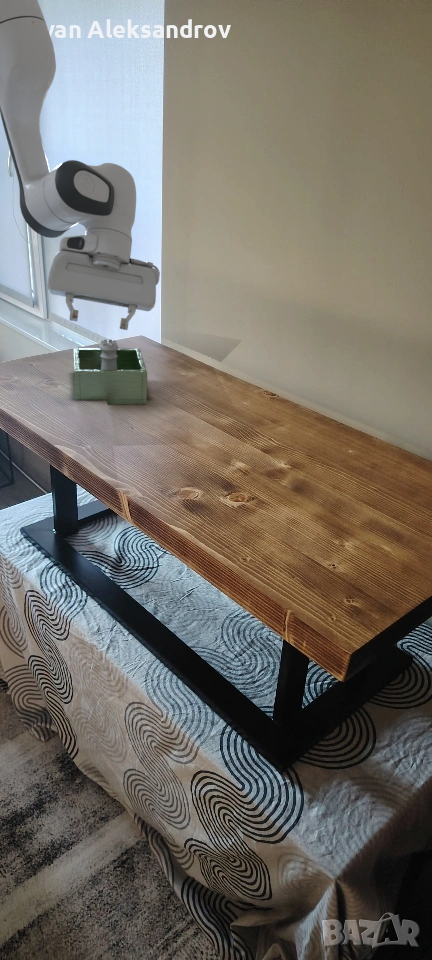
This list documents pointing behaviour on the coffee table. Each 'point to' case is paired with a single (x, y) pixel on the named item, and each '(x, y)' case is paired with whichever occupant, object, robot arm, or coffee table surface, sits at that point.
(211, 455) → the coffee table surface
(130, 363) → the green planter box
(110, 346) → the rook chess piece
